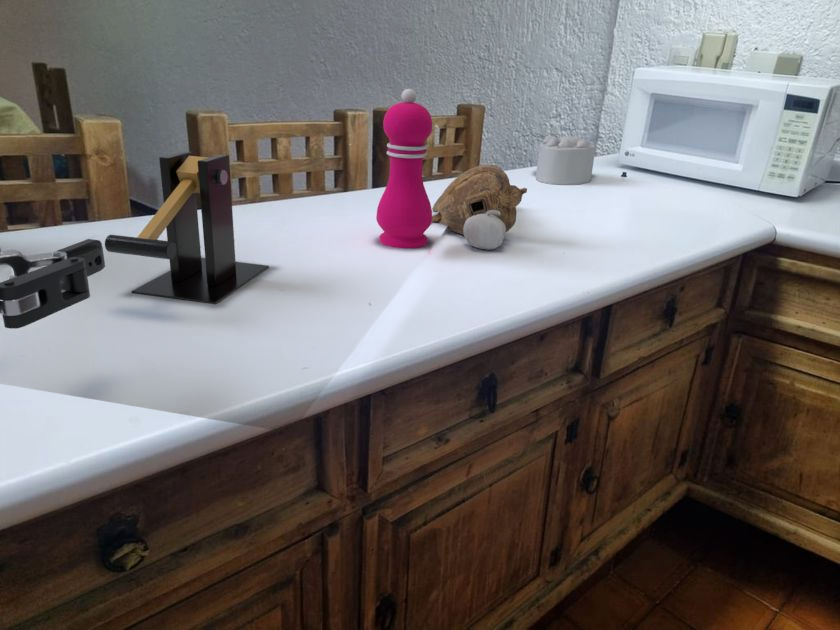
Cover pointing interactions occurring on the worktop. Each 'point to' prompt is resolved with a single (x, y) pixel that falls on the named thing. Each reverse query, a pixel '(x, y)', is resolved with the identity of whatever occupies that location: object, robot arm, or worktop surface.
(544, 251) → the worktop surface
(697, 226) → the worktop surface
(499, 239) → the garlic
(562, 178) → the lumpy-topped squat cylinder
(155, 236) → the lever
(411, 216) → the pepper mill
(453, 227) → the brown wooden birdhouse
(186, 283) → the bracket
